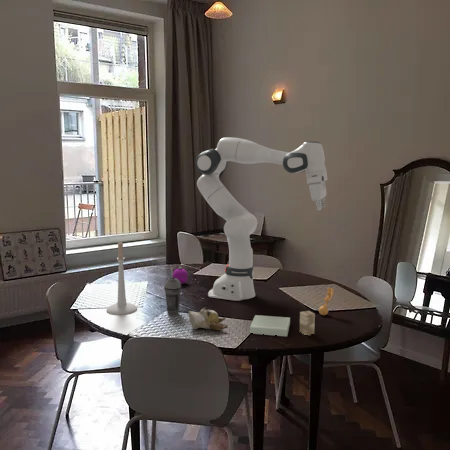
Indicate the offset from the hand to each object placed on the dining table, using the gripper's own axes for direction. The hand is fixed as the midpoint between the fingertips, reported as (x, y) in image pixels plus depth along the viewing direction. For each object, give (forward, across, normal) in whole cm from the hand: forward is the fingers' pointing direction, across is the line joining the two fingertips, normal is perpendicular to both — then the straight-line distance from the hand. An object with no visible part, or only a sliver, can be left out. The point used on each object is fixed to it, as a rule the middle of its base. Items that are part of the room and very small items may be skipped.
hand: (321, 208), depth 214 cm
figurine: (+43, +16, -1) cm, 46 cm away
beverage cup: (+33, +38, -61) cm, 79 cm away
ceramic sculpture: (+36, +48, -42) cm, 73 cm away
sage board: (+40, +40, -19) cm, 59 cm away
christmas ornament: (+31, -7, -78) cm, 84 cm away
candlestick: (+29, +40, -84) cm, 97 cm away
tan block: (+42, +40, -5) cm, 58 cm away
